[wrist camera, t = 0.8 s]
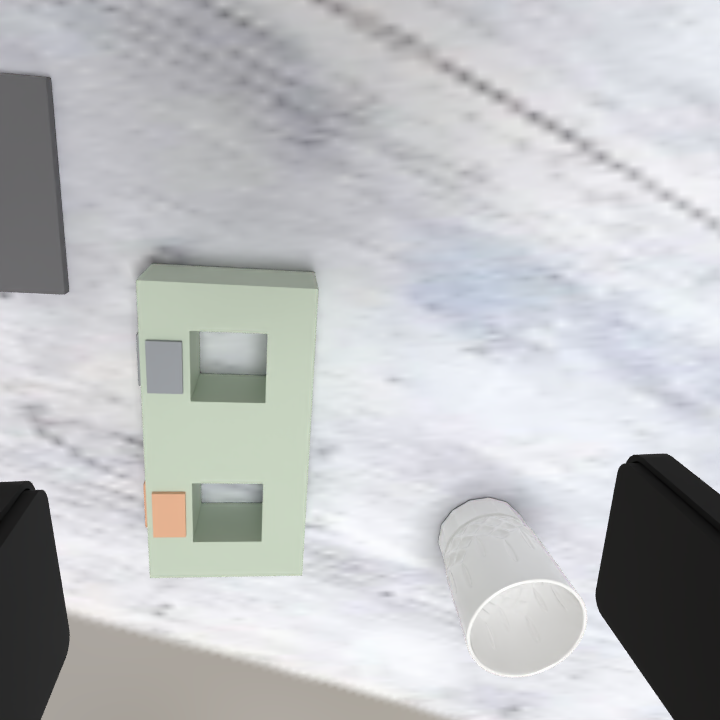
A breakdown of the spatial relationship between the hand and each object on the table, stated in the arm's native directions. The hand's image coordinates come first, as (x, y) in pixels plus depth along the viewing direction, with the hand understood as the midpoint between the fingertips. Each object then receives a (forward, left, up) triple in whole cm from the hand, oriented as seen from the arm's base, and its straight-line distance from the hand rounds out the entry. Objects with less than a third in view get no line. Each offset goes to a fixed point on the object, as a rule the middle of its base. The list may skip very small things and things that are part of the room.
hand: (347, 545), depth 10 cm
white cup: (+22, +15, -31) cm, 41 cm away
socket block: (+12, -4, -30) cm, 33 cm away
